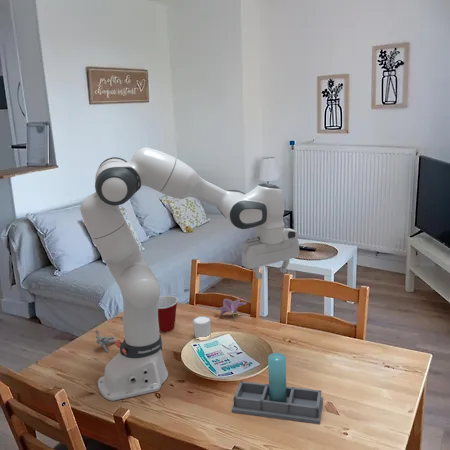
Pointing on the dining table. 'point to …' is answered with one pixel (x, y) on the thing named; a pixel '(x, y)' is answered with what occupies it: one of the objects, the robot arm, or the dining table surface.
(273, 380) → the teal cylinder
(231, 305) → the lily
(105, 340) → the grey humanoid figurine
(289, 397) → the cup rack
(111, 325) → the dining table surface
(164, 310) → the plastic cup
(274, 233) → the robot arm
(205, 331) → the shot glass
